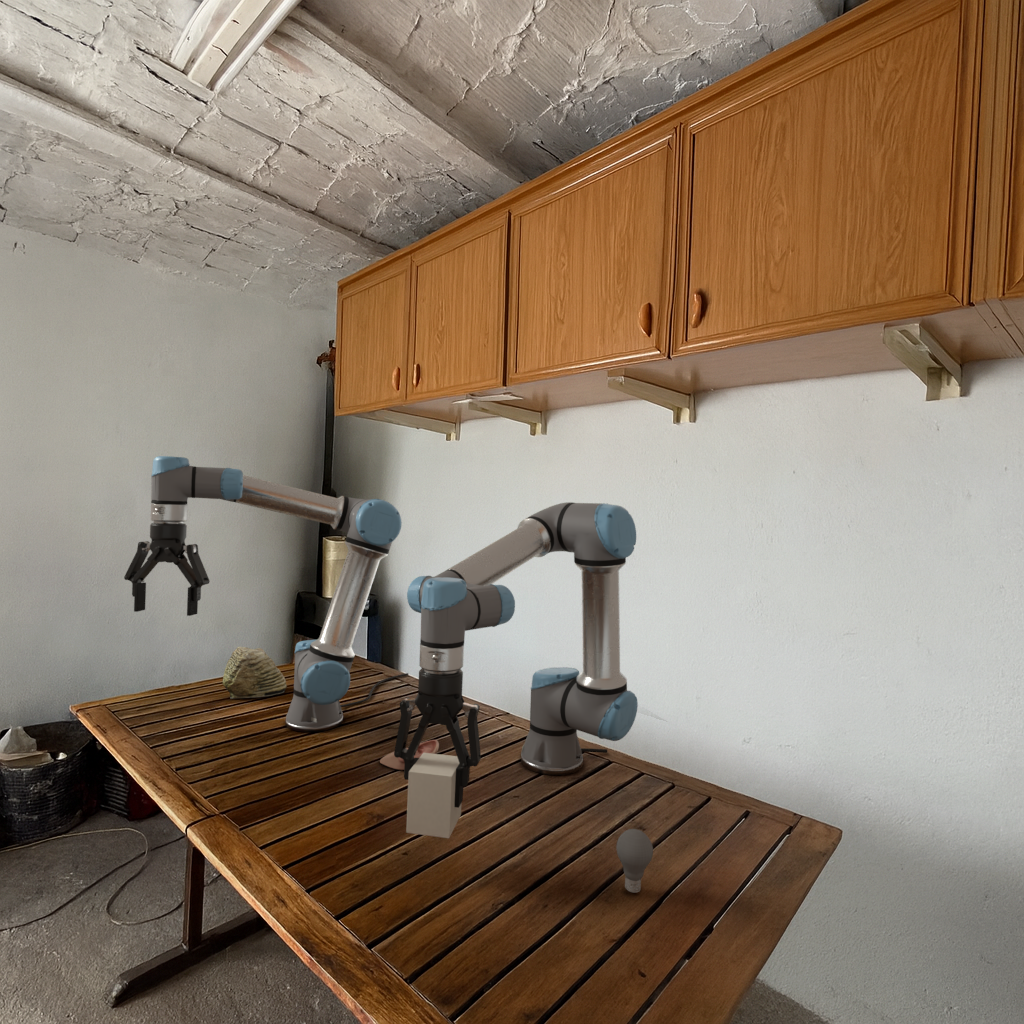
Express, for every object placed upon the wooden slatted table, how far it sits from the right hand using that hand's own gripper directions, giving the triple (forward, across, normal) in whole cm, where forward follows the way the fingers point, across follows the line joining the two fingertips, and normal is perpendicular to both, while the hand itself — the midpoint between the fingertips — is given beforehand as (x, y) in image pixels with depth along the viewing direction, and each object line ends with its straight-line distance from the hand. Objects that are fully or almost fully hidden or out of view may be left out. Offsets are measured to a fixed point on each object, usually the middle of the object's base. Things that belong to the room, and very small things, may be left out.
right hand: (435, 800), depth 109 cm
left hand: (-22, -75, +28) cm, 83 cm away
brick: (+4, 0, 0) cm, 4 cm away
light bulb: (+12, +34, +2) cm, 36 cm away
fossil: (+12, -81, +77) cm, 112 cm away
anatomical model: (+12, -18, +42) cm, 47 cm away
